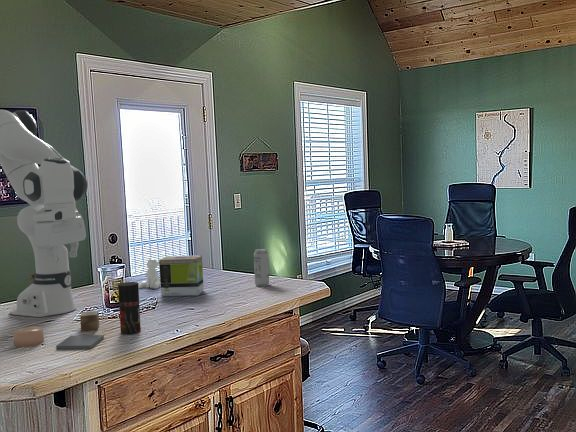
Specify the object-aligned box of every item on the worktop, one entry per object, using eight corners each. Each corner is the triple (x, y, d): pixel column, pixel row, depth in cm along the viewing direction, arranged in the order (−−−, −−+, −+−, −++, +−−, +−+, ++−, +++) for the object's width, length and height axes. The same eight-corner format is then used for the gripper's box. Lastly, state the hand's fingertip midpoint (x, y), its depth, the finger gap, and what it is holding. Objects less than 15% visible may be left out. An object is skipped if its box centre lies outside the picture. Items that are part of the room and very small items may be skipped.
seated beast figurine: (136, 288, 244) (135, 260, 243) (146, 284, 252) (145, 257, 251) (157, 288, 241) (156, 260, 240) (166, 284, 250) (165, 257, 249)
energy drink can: (271, 285, 241) (270, 249, 239) (257, 287, 238) (256, 251, 237) (266, 283, 246) (265, 248, 245) (252, 284, 244) (251, 249, 243)
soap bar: (41, 332, 167) (41, 346, 167) (44, 325, 174) (45, 338, 175) (10, 335, 164) (11, 349, 165) (16, 328, 172) (17, 341, 173)
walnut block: (81, 331, 180) (80, 316, 180) (83, 327, 185) (82, 312, 185) (97, 330, 181) (96, 314, 181) (99, 326, 186) (98, 310, 186)
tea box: (204, 290, 235) (202, 254, 234) (197, 296, 225) (196, 258, 224) (168, 291, 237) (166, 255, 235) (160, 296, 227) (158, 259, 225)
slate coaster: (56, 349, 163) (56, 345, 163) (71, 338, 173) (70, 335, 173) (91, 348, 162) (91, 345, 162) (104, 338, 172) (103, 334, 172)
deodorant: (141, 333, 176) (138, 284, 175) (120, 335, 175) (118, 286, 173) (140, 328, 182) (137, 281, 181) (120, 330, 180) (118, 282, 179)
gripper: (71, 210, 181) (74, 254, 182) (28, 216, 161) (33, 265, 162) (89, 209, 179) (92, 254, 181) (49, 215, 160) (53, 265, 161)
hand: (64, 259), depth 171 cm, fingers open, 8 cm apart
